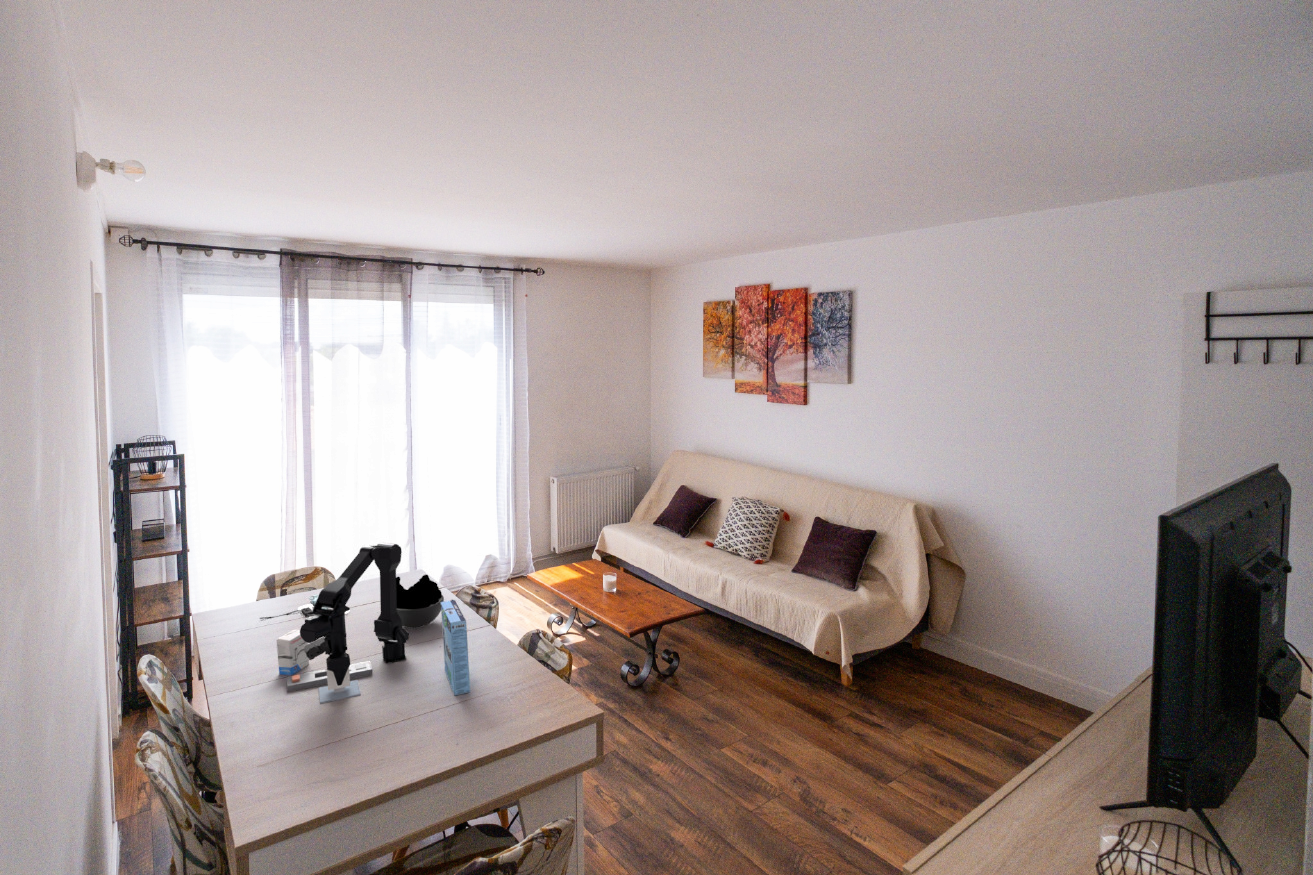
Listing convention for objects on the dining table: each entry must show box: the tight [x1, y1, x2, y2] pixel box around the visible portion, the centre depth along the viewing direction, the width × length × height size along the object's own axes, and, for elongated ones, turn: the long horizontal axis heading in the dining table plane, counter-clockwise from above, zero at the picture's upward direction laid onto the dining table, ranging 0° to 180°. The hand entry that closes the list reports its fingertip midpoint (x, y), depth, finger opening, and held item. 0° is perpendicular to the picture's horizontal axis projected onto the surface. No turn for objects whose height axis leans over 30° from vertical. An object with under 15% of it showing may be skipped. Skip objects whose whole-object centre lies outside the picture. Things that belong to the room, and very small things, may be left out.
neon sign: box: [259, 594, 351, 620], centre depth 275 cm, size 21×4×29 cm
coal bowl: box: [396, 574, 445, 629], centre depth 262 cm, size 20×20×19 cm
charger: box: [325, 662, 351, 693], centre depth 212 cm, size 6×4×10 cm
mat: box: [318, 679, 361, 705], centre depth 213 cm, size 11×10×1 cm
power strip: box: [286, 660, 373, 693], centre depth 222 cm, size 24×7×3 cm, turn 117°
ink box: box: [276, 629, 310, 676], centre depth 228 cm, size 9×5×12 cm, turn 168°
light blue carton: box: [440, 599, 471, 696], centre depth 219 cm, size 20×5×23 cm, turn 25°
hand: (338, 678), depth 212 cm, fingers open, 9 cm apart
